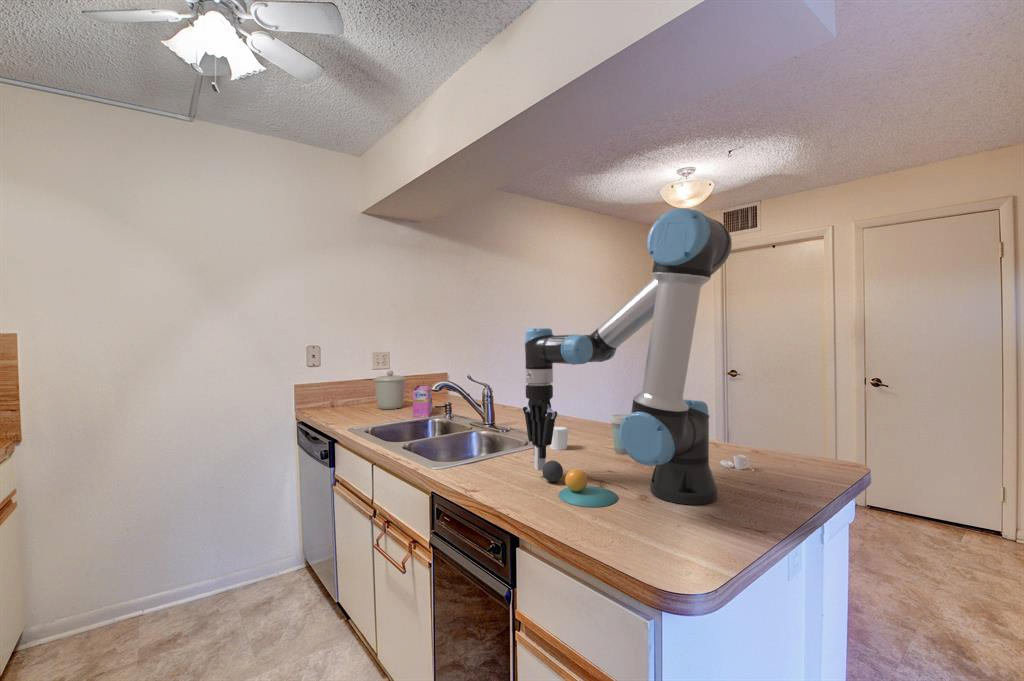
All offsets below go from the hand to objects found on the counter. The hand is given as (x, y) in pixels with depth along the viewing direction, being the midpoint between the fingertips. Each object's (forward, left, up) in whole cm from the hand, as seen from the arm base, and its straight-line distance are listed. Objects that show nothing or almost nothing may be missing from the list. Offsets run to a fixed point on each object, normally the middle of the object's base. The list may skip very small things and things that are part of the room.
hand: (540, 469), depth 121 cm
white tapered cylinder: (+21, -24, -2) cm, 32 cm away
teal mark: (-19, 0, -2) cm, 19 cm away
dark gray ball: (-6, 0, +1) cm, 6 cm away
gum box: (+117, -13, -2) cm, 118 cm away
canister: (+145, -5, -2) cm, 145 cm away
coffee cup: (+4, -38, -2) cm, 38 cm away
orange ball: (-15, 0, +1) cm, 15 cm away
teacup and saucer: (-26, -53, -3) cm, 59 cm away
